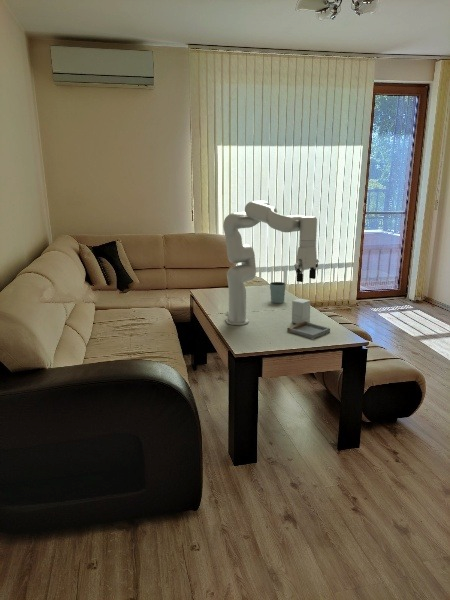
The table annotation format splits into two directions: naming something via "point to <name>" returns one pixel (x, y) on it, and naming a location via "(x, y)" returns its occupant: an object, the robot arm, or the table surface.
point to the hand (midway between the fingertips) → (306, 280)
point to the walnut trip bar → (297, 326)
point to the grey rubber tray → (311, 330)
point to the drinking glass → (277, 292)
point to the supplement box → (300, 311)
